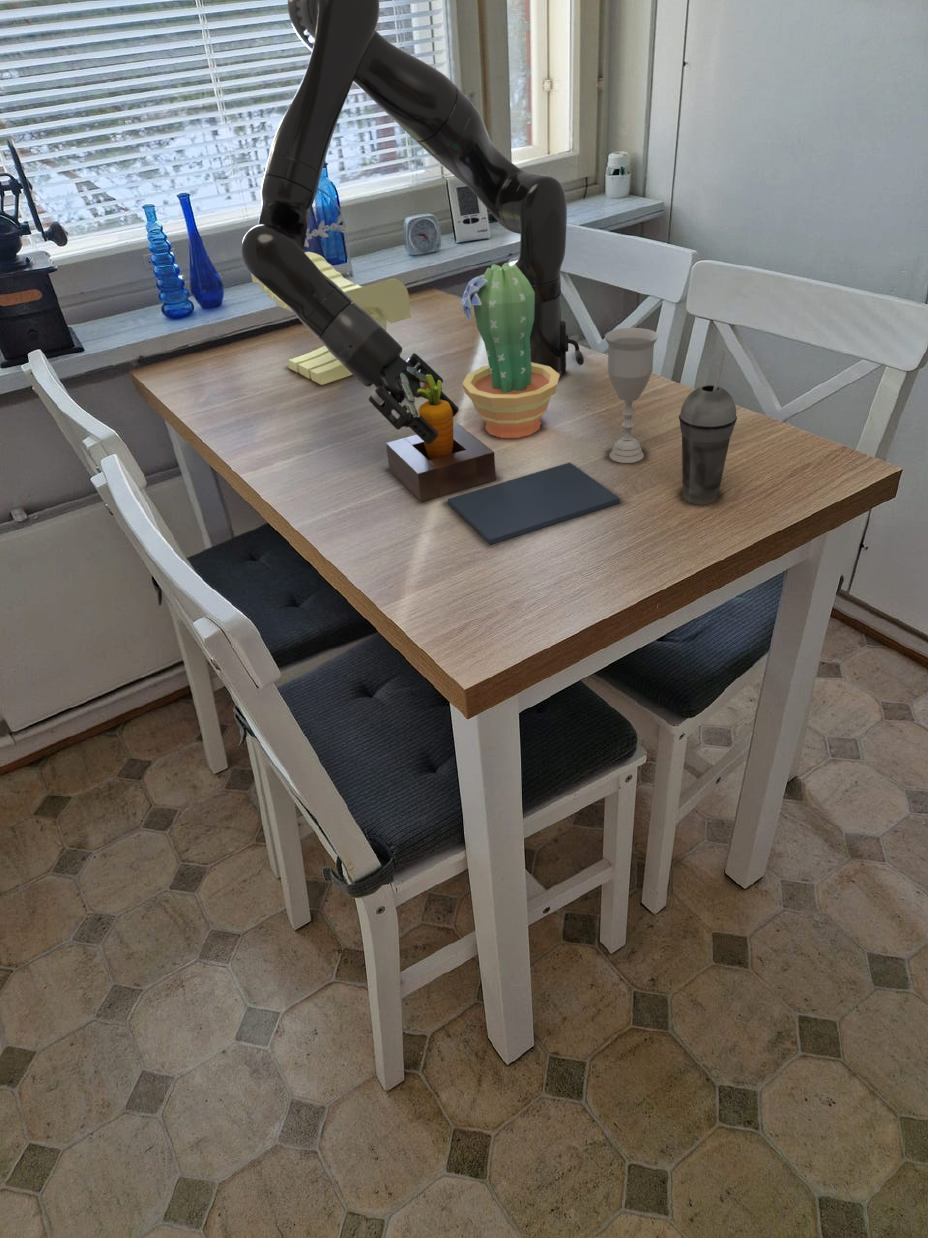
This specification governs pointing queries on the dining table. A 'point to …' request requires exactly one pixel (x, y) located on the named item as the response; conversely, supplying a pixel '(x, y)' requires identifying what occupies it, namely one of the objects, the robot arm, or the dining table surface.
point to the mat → (531, 502)
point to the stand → (441, 465)
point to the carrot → (437, 420)
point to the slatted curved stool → (375, 299)
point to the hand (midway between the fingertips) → (444, 427)
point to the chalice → (629, 380)
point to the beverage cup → (705, 439)
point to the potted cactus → (507, 354)
